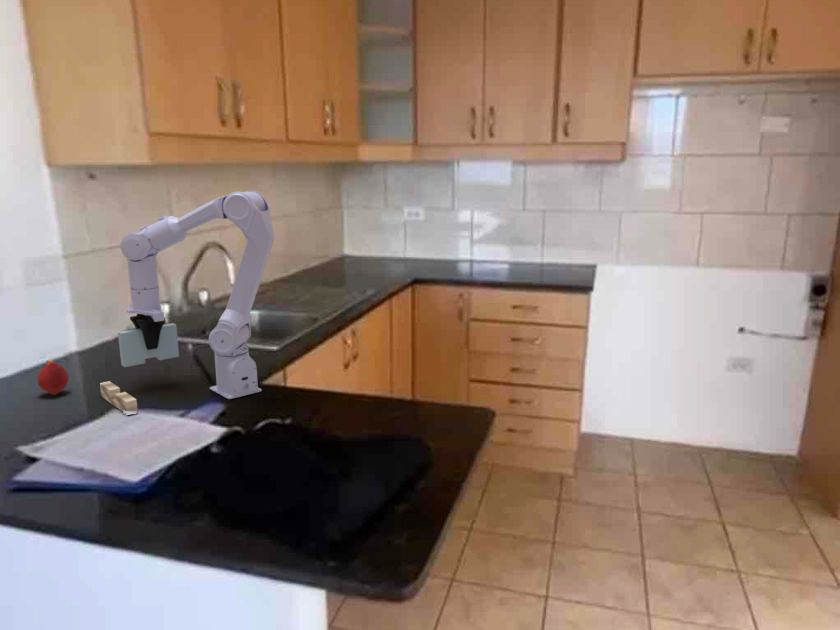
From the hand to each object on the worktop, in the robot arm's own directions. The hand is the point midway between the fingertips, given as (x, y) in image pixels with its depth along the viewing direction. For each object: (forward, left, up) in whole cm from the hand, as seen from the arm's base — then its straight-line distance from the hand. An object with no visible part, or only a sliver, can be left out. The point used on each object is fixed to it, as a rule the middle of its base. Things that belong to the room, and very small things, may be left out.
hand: (150, 347), depth 143 cm
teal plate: (0, 0, -3) cm, 3 cm away
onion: (+10, +17, -10) cm, 22 cm away
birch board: (-6, +9, -9) cm, 15 cm away
